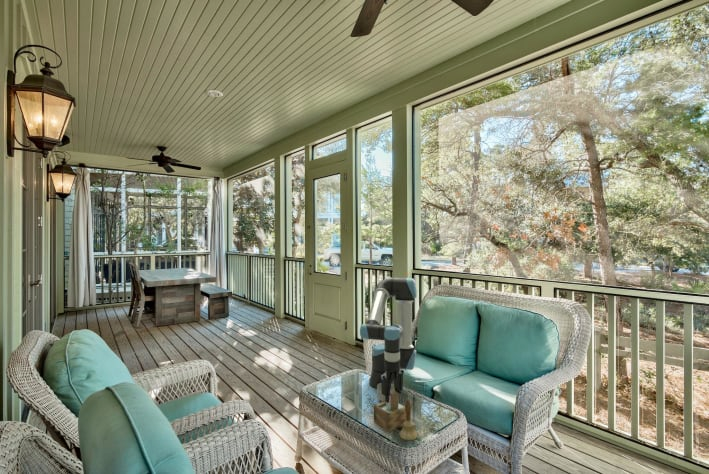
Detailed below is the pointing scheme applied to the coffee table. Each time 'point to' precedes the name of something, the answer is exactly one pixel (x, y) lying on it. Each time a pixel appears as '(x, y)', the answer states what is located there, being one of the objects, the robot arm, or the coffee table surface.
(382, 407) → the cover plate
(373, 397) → the coffee table surface
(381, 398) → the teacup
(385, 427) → the open box
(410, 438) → the hand bell
